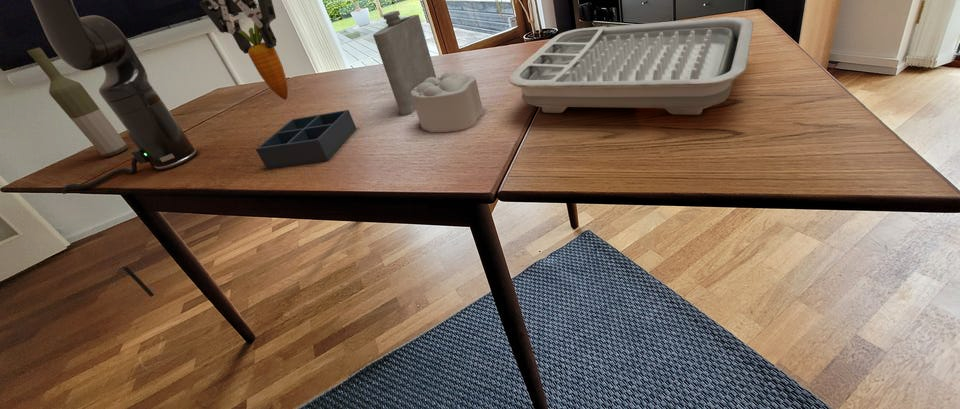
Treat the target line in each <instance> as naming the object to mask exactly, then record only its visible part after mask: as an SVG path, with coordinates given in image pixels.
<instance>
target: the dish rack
mask: <svg viewBox="0 0 960 409" xmlns="http://www.w3.org/2000/svg"><path fill="white" fill-rule="evenodd" d="M753 32H754V22H753V21H752V20H751V19H748V18H746V17H741V16H722V17H709V18H697V19H686V20H674V21H673V20H672V21H662V22H649V23H637V24H636V23H635V24H628V25H627V24H626V25H616V26H615V25H614V26H606V25H604V26H603V25H602V26H594V27H593V26H592V27H582V28H575V29H570V30H567V31H564V32H560V33H559V34H557V35H555V36H554V37H552V38H551V39H549V41H547V42H545V44H544V45H542V46H541V47H540V48H539V49H538V50H537V51H535V52H534V53H533V54H532V55H531V56H530V57H528V58H527V59H526V60H525V61H524V62H522V63H521V64H520V65H519V66H517V68H516V69H515V70H514V71H513V72H512V73H510V75H509V77H508V82H509V84H510V85H512V86H514V87H517V88H520V89H521V96H522V97H521V98H522V100H523V102H524V103H525V104H528V105H531V106H535V107H540V108H541V110H542V112H543V113H544V114H545V113H546V114H548V113H549V114H561V113H563V112H565V110H566V109H567V108H630V109H631V108H632V109H633V108H634V109H665V111H667V112H668V113H669V114H671V115H694V116H695V115H697V116H698V115H701V114H702V112H703V110H704V109H708V108H710V107H712V106H717V105H720V104H721V103H723V102H725V101H726V100H727V99H728V98H730V94H731V92H732V89H733V85H734V81H735V79H737V78H739V77H741V75H743V74H744V73H745V71H746V69H747V67H748V66H747V65H748V61H749V56H750V49H751V43H752V36H753Z"/></svg>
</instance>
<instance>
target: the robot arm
mask: <svg viewBox="0 0 960 409" xmlns="http://www.w3.org/2000/svg"><path fill="white" fill-rule="evenodd" d="M30 2H31V4H32V6H33V8H34V11H35V13H36V15H37V18H38V20H39V22H40V24H41V27H42V29H43V31H44V34H45V36H46V38H47V40H48V42H49V44H50V46H51V47H52V49H53V51H54V52H55V53H56V54H57V56H58V57H59V58H60V59H61V60H62V61H63V62H64V63H65V64H67V66H70V67H71V68H73V69H75V70H79V71H82V72H83V71H84V72H85V71H92V70H95V69H98V68H101V67H102V68H103V71H104V72H105V77H104V81H103V82H102V83H101V85H100V86H99V88H98V93H99V95H100V97H101V98H102V99H103V100H104V102H106V104H107V105H108V107H109V108H110V109H111V111H112V113H114V114H115V116H116V117H117V119H118V120H119V121H120V122H121V124H122V125H123V126H124V128H125V130H127V132H128V133H127V136H128V137H129V138H130V140H131V141H132V142H133V144H134V145H135V146H136V149H134V150H133V151H130V153H131V155H132V156H133V158H132V160H131V163H130V166H131V169H130V168H119V169H116V170H113V171H111V172H108V173H107V174H105V175H104V176H102V177H100V178H98V179H96V180H93V181H91V182H88V183H82V184H81V183H79V184H78V183H69V184H66V185H65V186H64V187H63V189H62V195H66V194H68V193H69V191H70V189H90V188H92V187H95V186H97V185H99V184H101V183H103V182H105V181H107V180H109V179H111V178H113V177H115V176H118V175H119V174H122V173H126V174H129V175H134V174H136V173H137V172H138V165H137V163H139V165H140V164H141V165H142V164H147V163H149V164H150V166H151V167H152V169H156V170H157V171H165V170H170V169H172V168H175V167H178V166H180V165H182V164H184V163H187V162H189V161H190V160H192V159H193V158H195V157H196V156H197V154H198V150H197V149H196V148H195V147H194V146H193V144H192V143H191V141H190V140H189V138H188V137H187V135H186V134H185V132H184V131H183V129H182V128H181V127H180V125H179V124H178V122H177V121H176V119H175V118H174V116H173V115H172V113H171V112H170V110H169V109H168V107H167V105H166V104H165V102H164V101H163V100H162V98H161V97H160V96H159V94H158V93H157V91H156V90H155V88H154V87H153V85H152V84H151V82H150V81H149V77H148V73H147V70H146V68H145V66H144V64H143V63H142V62H141V60H140V59H139V57H138V55H137V53H136V52H135V50H134V48H133V46H132V45H131V43H130V42H129V40H128V39H127V37H126V36H125V35H124V33H123V32H122V30H121V29H120V28H119V27H118V26H117V25H116V24H114V23H113V22H112V21H111V20H110V19H108V18H106V17H104V16H100V15H97V14H94V15H86V16H81V17H80V16H79V14H78V12H77V9H76V7H75V5H74V1H73V0H30ZM198 3H199V7H201V9H202V10H203V12H204V13H205V14H206V15H207V17H208V18H209V19H210V21H211V22H212V23H213V24H214V26H215V27H216V28H217V30H218V31H219V32H220V33H221V34H224V33H228V34H230V35H232V37H233V39H234V41H235V42H236V45H237V47H238V49H240V51H241V52H243V54H248V50H249V48H250V47H251V46H252V43H251V42H250V41H249V40H247V39H246V38H245V37H244V36H242V35H241V34H239V33H238V32H239V30H242V31H243V29H242V28H243V27H242V23H241V18H242V15H241V13H244V15H245V16H246V17H247V18H249V19H250V20H252V22H253V24H254V23H255V24H256V25H257V26H258V27H259V29H258V30H259V32H260V34H261V36H262V41H263V42H265V44H266V46H267V48H273V47H274V48H275V47H277V43H278V41H277V38H276V36H275V34H274V32H273V29H272V27H271V25H270V24H271V22H273V21H275V20H276V18H277V15H276V11H275V7H274V3H273V0H257V1H256V0H200V1H199V2H198ZM121 268H122V269H123V270H124V272H126V273H127V274H128V275H129V276H130V277H131V279H133V281H134V282H136V283H137V284H138V286H139V287H140V288H142V290H143V291H144V292H145V293H146V295H148V296H149V298H152V297H154V296H155V294H154V293H153V292H152V290H150V288H149V287H148V286H147V285H146V284H145V283H144V282H143V281H142V280H141V279H140V278H139V277H138V276H137V275H136V273H134V272H133V271H132V270H131V269H130V267H128V266H123V267H122V266H121Z"/></svg>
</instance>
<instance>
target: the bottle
mask: <svg viewBox="0 0 960 409" xmlns="http://www.w3.org/2000/svg"><path fill="white" fill-rule="evenodd" d="M26 52H27V53H28V55H29V56H30V57H31V58H32V59H33V60H34V61H35V63H36V64H37V65H38V67H40V69H41V70H42V71H43V72H44V74H45V75H46V76H47V77H48V79H49V80H50V83H49V89H48V93H49V96H50V97H51V98H52V99H53V100H54V102H56V104H58V106H59V107H60V108H61V110H62V111H63V112H64V113H65V114H66V115H67V116H68V118H69V119H70V120H71V121H72V122H73V123H74V125H76V127H77V128H78V129H79V130H80V131H81V133H82V134H83V135H84V136H85V137H86V138H87V140H88V141H89V142H90V143H91V144H92V146H94V148H95V149H96V151H98V152H99V153H100V155H101V156H103V157H104V158H105V157H106V158H108V157H114V156H116V155H119V154H122V153H123V152H124V151H126V150H127V149H128V145H127V143H126V142H125V141H124V139H123V138H122V137H121V135H120V133H119V132H118V131H117V130H116V129H115V126H113V124H112V123H111V121H109V119H108V117H106V115H105V114H104V112H103V111H102V110H101V108H100V107H99V106H98V105H97V103H96V102H95V100H94V99H93V98H92V97H91V95H90V94H89V93H88V91H87V90H86V88H85V87H84V86H83V85H82V84H81V83H80V82H79V81H76V80H74V79H70V78H68V77H65V76H64V75H62V74H61V72H60V70H58V69H57V67H56V66H55V65H54V63H53V62H52V61H51V60H50V59H49V57H48V56H47V55H46V53H45V51H44V50H43V49H42V48H41V47H36V48H31V49H28V50H26Z"/></svg>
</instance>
